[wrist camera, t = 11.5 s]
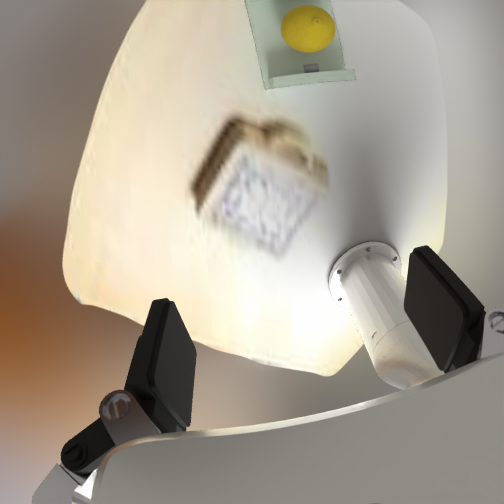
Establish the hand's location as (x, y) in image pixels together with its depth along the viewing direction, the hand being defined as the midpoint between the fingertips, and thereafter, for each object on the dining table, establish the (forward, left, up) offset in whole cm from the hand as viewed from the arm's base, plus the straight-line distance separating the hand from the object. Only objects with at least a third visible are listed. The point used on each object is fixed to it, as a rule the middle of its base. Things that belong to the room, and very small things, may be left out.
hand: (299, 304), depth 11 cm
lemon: (+14, -8, -27) cm, 32 cm away
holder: (+14, -8, -28) cm, 32 cm away
